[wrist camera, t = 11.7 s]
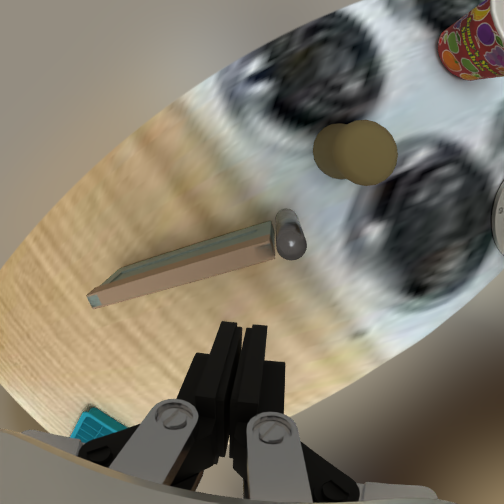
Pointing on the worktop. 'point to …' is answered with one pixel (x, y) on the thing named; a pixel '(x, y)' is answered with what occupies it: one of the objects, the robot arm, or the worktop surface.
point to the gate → (187, 265)
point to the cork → (356, 152)
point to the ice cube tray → (95, 426)
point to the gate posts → (289, 235)
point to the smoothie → (475, 43)
